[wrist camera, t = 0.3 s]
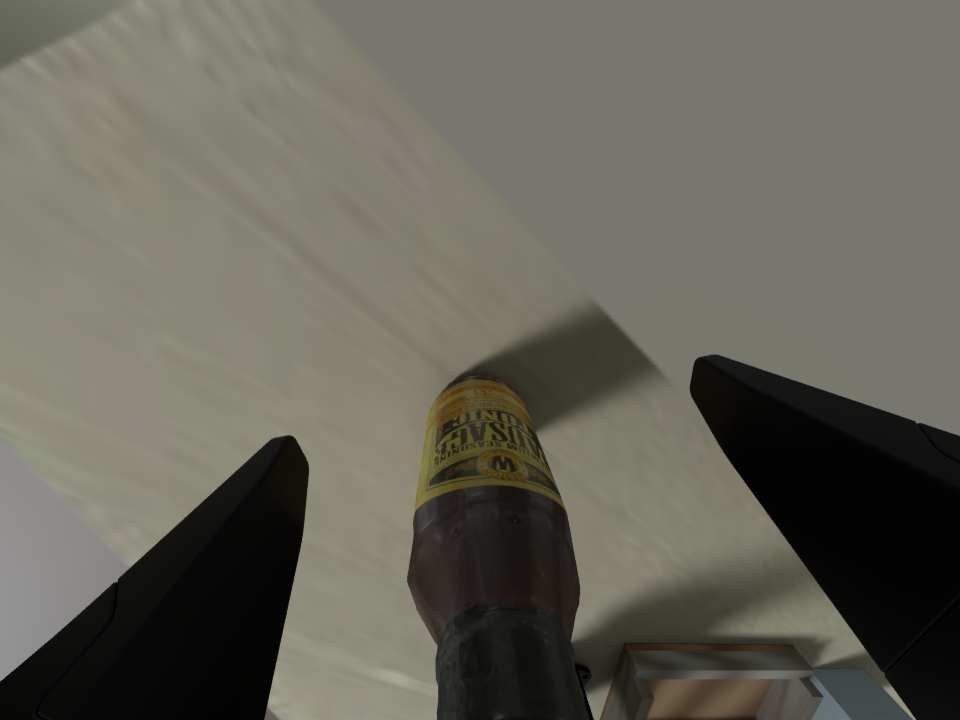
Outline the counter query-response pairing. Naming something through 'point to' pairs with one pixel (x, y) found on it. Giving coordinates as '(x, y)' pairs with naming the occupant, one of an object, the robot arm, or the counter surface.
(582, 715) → the sauce bottle
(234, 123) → the counter surface
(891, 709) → the blue-grey rectangular block
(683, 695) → the shallow grey tray
